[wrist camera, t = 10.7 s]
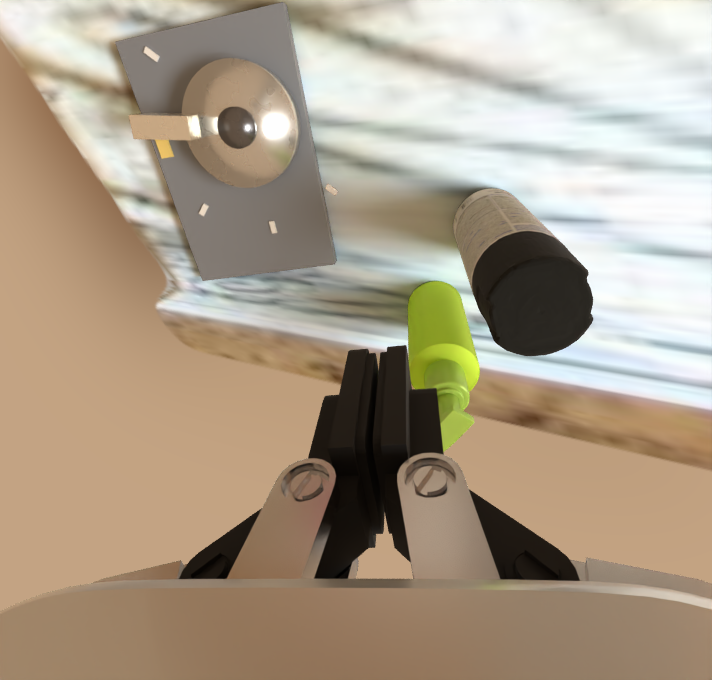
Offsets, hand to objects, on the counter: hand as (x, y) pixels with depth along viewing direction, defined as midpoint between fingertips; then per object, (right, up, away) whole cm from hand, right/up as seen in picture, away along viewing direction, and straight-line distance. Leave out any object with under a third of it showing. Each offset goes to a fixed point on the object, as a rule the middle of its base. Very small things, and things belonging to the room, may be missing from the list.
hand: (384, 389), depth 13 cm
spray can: (+12, +13, +30) cm, 35 cm away
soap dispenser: (+8, +5, +35) cm, 36 cm away
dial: (-13, +21, +26) cm, 36 cm away
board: (-12, +19, +29) cm, 37 cm away
